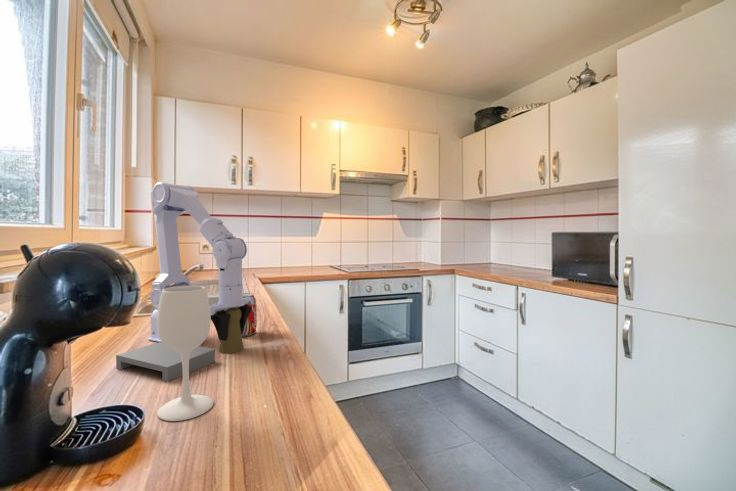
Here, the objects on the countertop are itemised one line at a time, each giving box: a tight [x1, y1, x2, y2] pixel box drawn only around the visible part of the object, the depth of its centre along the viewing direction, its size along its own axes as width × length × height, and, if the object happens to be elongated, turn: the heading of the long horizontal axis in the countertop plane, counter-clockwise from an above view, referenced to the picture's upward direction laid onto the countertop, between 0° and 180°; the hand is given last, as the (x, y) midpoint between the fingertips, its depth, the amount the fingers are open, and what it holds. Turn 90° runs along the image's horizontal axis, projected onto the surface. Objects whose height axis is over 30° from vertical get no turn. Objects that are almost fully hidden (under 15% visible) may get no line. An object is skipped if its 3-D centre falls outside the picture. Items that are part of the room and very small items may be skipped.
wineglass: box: [156, 285, 214, 422], centre depth 60 cm, size 9×9×21 cm
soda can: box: [242, 292, 258, 338], centre depth 105 cm, size 7×7×12 cm
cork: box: [218, 308, 244, 355], centre depth 91 cm, size 6×6×11 cm
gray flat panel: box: [115, 341, 216, 383], centre depth 80 cm, size 17×12×3 cm
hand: (231, 336), depth 91 cm, fingers closed on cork, 5 cm apart
